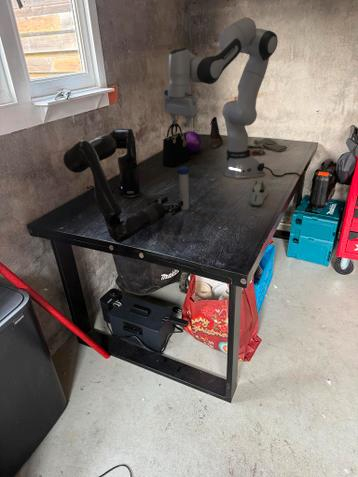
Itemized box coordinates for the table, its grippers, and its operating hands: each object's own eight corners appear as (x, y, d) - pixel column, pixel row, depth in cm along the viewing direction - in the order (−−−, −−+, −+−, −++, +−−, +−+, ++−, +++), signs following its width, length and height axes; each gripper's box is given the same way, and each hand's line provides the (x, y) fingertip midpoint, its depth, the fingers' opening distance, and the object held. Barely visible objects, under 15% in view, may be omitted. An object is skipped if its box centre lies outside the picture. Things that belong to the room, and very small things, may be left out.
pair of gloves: (252, 157, 216) (252, 149, 214) (231, 148, 237) (231, 141, 234) (288, 150, 226) (289, 142, 223) (266, 142, 247) (266, 135, 244)
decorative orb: (204, 151, 235) (204, 129, 228) (194, 156, 225) (193, 134, 217) (186, 149, 243) (186, 128, 235) (175, 154, 232) (174, 132, 224)
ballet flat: (269, 188, 169) (270, 173, 165) (265, 208, 149) (266, 191, 145) (252, 187, 171) (253, 172, 167) (246, 206, 151) (247, 190, 147)
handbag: (173, 167, 206) (170, 126, 194) (161, 166, 211) (158, 125, 198) (190, 158, 221) (188, 120, 209) (178, 157, 225) (176, 119, 213)
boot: (223, 140, 259) (224, 113, 249) (220, 148, 239) (221, 119, 229) (212, 140, 261) (212, 113, 251) (208, 148, 241) (208, 120, 231)
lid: (189, 170, 147) (189, 166, 146) (189, 174, 143) (188, 169, 142) (178, 171, 148) (177, 166, 147) (177, 174, 143) (177, 170, 142)
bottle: (189, 206, 156) (188, 167, 146) (189, 209, 152) (187, 170, 143) (181, 206, 156) (178, 167, 146) (180, 210, 152) (178, 170, 143)
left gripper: (164, 210, 129) (187, 195, 140) (137, 202, 136) (161, 189, 147) (165, 226, 133) (188, 211, 144) (139, 218, 140) (162, 205, 151)
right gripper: (200, 93, 135) (200, 127, 142) (172, 89, 149) (173, 121, 156) (188, 94, 132) (189, 130, 138) (161, 91, 146) (162, 123, 153)
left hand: (174, 200), depth 145 cm, fingers open, 8 cm apart
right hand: (180, 125), depth 147 cm, fingers open, 8 cm apart
